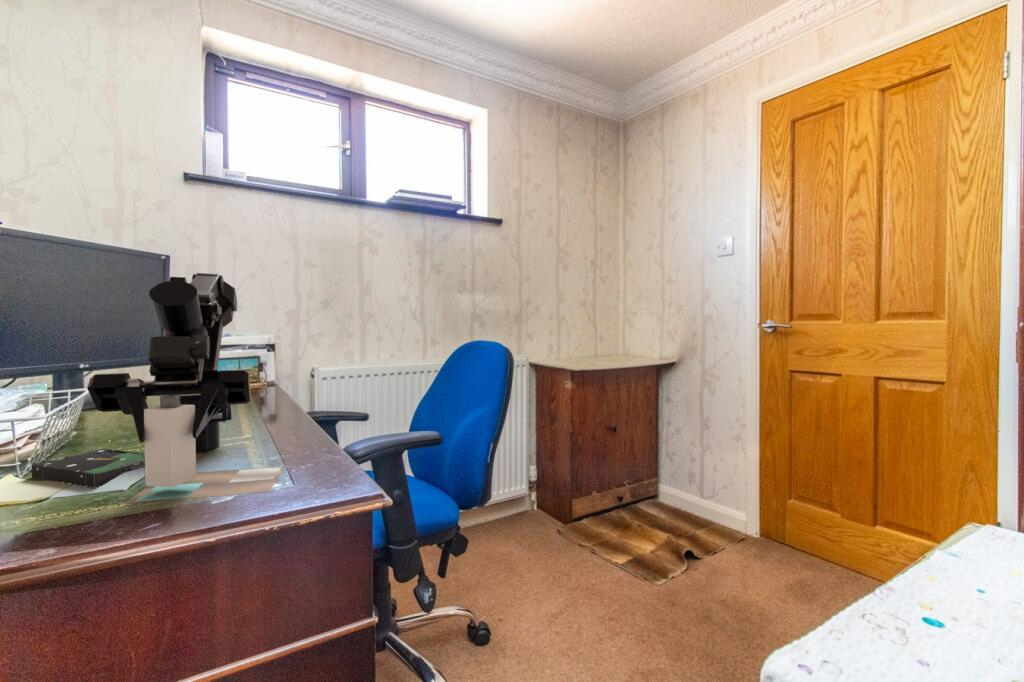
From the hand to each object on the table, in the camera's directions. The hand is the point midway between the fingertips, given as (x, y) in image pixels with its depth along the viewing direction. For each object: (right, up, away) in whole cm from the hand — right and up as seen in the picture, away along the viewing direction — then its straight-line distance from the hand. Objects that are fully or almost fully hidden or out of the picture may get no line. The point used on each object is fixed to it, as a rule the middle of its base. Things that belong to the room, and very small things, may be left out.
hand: (168, 438), depth 62 cm
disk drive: (-21, -9, +13) cm, 26 cm away
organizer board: (+3, -9, +5) cm, 11 cm away
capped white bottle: (-1, -6, +2) cm, 7 cm away
